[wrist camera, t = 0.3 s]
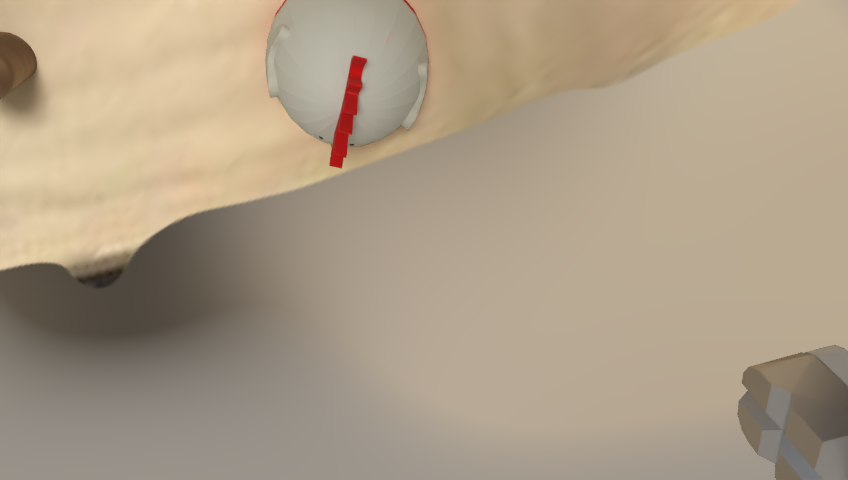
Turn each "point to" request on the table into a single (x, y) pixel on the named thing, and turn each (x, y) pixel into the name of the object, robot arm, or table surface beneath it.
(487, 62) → the table surface
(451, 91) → the table surface
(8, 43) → the peg
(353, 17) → the kitchen timer
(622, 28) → the table surface
